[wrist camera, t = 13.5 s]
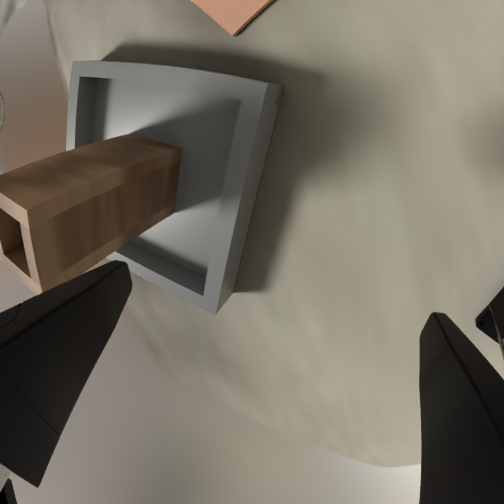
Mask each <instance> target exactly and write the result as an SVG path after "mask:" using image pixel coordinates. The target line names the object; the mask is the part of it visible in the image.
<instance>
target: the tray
mask: <svg viewBox="0 0 504 504" xmlns="http://www.w3.org/2000/svg"><path fill="white" fill-rule="evenodd" d="M283 90H284V86H282V85H278V84H274V83H270V82H266V81H261V80H257V79H252V78H248V77H243V76H238V75H233V74H227V73H222V72H216V71H210V70H204V69H197V68H190V67H182V66H174V65H165V64H155V63H143V62H128V61H101V60H100V61H74V62H73V64H72V72H71V81H70V90H69V102H68V118H67V144H66V145H67V146H66V151H68V150H72V149H75V148H78V147H81V146H85V145H88V144H92V143H95V142H99V141H102V140H106V139H110V138H114V137H118V136H121V135H126V134H133V135H137V136H140V137H144V138H148V139H152V140H155V141H159V142H162V143H166V144H169V145H173V146H176V147H180V148H183V151H182V157H181V164H180V171H179V178H178V186H177V194H176V202H175V210H174V214H172V215H171V216H169V217H167V218H166V219H164V220H163V221H161V222H159V223H158V224H156V225H155V226H153V227H151V228H150V229H148V230H147V231H145V232H144V233H142V234H140V235H139V236H137V237H136V238H134V239H133V240H131V241H130V242H128V243H127V244H125V245H124V246H122V247H121V248H119V249H118V250H116V251H115V252H113V253H112V254H110V255H109V256H107V257H106V258H107V259H109V260H111V261H113V260H119V261H124V262H126V263H127V264H128V266H129V271H131V272H133V273H135V274H136V275H138V276H140V277H142V278H144V279H146V280H148V281H149V282H151V283H153V284H155V285H157V286H159V287H161V288H163V289H165V290H167V291H169V292H171V293H172V294H174V295H176V296H178V297H180V298H182V299H184V300H186V301H188V302H190V303H192V304H194V305H196V306H198V307H200V308H202V309H204V310H207V311H209V312H211V313H213V314H215V315H216V314H217V312H218V311H219V310H220V308H221V307H222V306H223V305H224V303H225V302H226V301H227V300H228V298H229V297H230V296H231V294H232V293H233V289H234V285H235V281H236V277H237V273H238V269H239V265H240V261H241V257H242V253H243V248H244V244H245V240H246V236H247V232H248V228H249V224H250V220H251V216H252V212H253V208H254V204H255V200H256V196H257V192H258V188H259V184H260V180H261V176H262V172H263V168H264V164H265V160H266V156H267V152H268V148H269V144H270V140H271V136H272V133H273V129H274V125H275V121H276V117H277V113H278V109H279V105H280V101H281V97H282V94H283Z"/></svg>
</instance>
